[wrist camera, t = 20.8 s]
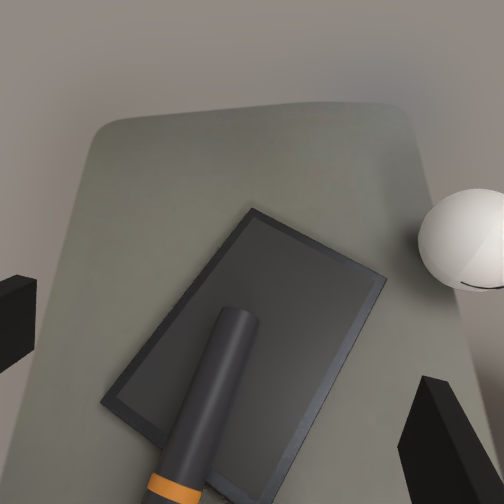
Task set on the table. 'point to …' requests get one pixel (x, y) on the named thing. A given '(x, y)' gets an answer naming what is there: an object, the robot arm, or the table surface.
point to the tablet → (255, 351)
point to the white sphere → (465, 240)
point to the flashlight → (204, 411)
